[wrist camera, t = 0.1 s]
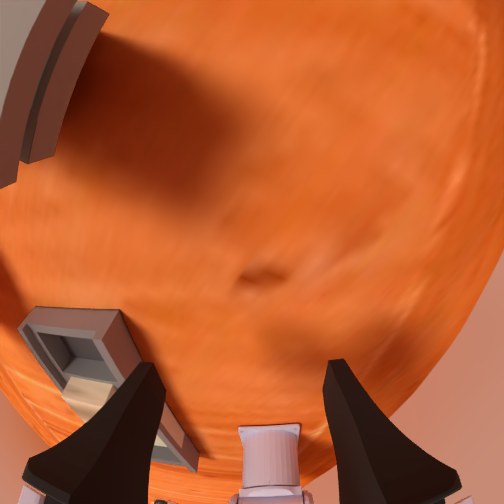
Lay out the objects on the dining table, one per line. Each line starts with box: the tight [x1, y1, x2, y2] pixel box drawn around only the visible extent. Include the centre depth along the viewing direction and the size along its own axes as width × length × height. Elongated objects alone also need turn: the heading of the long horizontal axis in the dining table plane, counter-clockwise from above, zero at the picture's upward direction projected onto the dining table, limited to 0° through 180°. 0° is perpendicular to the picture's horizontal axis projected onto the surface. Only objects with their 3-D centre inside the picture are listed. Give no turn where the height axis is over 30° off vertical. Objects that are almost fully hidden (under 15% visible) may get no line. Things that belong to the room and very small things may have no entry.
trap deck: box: [17, 306, 199, 472], centre depth 27 cm, size 32×12×4 cm, turn 5°
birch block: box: [61, 377, 117, 423], centre depth 23 cm, size 6×6×3 cm
